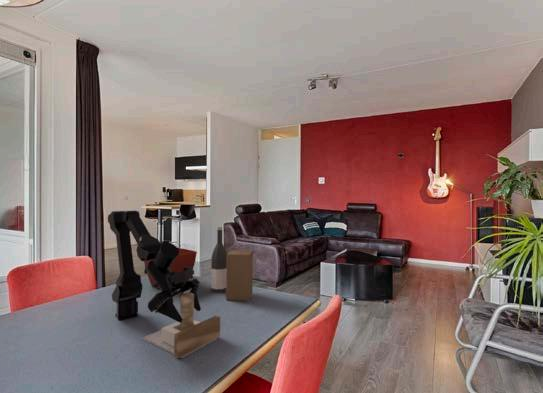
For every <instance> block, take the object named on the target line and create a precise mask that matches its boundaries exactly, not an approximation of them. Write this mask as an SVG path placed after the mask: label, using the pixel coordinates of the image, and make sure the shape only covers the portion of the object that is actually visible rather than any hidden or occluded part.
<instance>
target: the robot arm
mask: <svg viewBox="0 0 543 393" xmlns="http://www.w3.org/2000/svg"><path fill="white" fill-rule="evenodd" d="M107 222H108V224H109V227H110V228H109V229H110V230H111V232H112V233H113V234H115V239H116V240H115V241H116V250H117V257H118V265H119V266H118V267H119V276H118V277H117V279H116V282H115V288H114V290H113V292H112V293H111V300H112V301H113V302H114V303H116V312H115V316H116V317H115V318H117V320H118V321H122V320H127V319H130V318H136V317H138V313H139V302H138V301H137V300H138V299H139V298H142V297H141V296H142V293H143V283H142V279H141V278H142V276H141V275H140V274H138V273H137V272H136V271H135V266H134V257H133V250H132V249H133V248H132V240H131V235H132V237H133V238H134V240H135V242H136V245H137V246H136V250H135V251H136V253H137V257H138V259H139V260H140V261H141V262H144V261H149V260H152V261H150V262H149V264H147V265H145V264H144V270H143V272H144V273H143V274H144V275H146V274H147V273H149V274H150V275H151V277H152V278H153V280H154V281H155V283H156V284H155V285H154V286H153V287H154V288H155V289H159V288H160V289H159V290H160V292H157V293H156V294H155V295H154V296H153V297H152V298H151V299H150V300H149V301H148V303H147V309H148V310H149V311H150V312H151V313H155V314H161V315H162V316H165V317H168V318H170V319H172V320H174V321H176V322H182V321H183V320H182V318H181V316H180V311H178V309H177V308H176V306H175V304H174V298H175V297H177V296H181V294H184V293H193V294H194V310H196V311H198V312H200V311H201V310H202V308H201V304H200V302H199V301H200V300H199V298H198V289H199V286H200V284H201V283H200V281H199V280H198V278H196V277H194V275H195V270H194V268H193V269H192V268H191V267H190V266H188V267H186V268H183V271H182V272H180V273H177V272H176V271H173V272H172V271H171V270H170V269H169V267H170V266H171V265H172V263H173V262H174V260H175V259H176V258H177V256H178V255H179V249H178V248H179V247H178V246H176V245H175V244H174V243H170V241H169V240H163V241H161V242H160V240H159V239H158V238H156V237H154V236H152V235H151V233H150V232H149V230H148V228H147V227H146V224H144V222H143V219H142V218H141V216H140V212H139V211H138V210H114V211H111V212H110V214H108V215H107ZM188 279H189V280H188ZM187 280H188V281H187ZM185 281H187V282H186V283H185ZM184 283H185V284H184ZM183 284H184V285H183ZM182 285H183V286H182ZM158 287H159V288H158Z"/></svg>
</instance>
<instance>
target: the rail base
mask: <svg viewBox="0 0 543 393" xmlns="http://www.w3.org/2000/svg"><path fill="white" fill-rule="evenodd" d="M199 322H200V323H198V324H196V325H194V326H191V327H189V328H187V329H185V330H183V331H180V332H178V333H176V334H174V346H172V345H170V344H167V343H165V342H163V341H161V330H158V331H156V332H153V333H151V334H148V335H145V336H144V337H142V340H143V341H145V342H147V343H149V344H151V345H153V346H156V347H158V348H160V349H161V350H163V351H165V352H168V353H170V354H171V355H173V356H175V357H176V358H178V359H183V358H186V357H187V356H188V355H191V354H192V353H195V352H196V351H199V349H202V348H203V347H205V346H208V345H209V344H211V343H213V342H215V341H217V340H218V338H219V337H220V336H221V316H218V315H214V316H212V317H209V318H208V319H205V320H203V321H199Z"/></svg>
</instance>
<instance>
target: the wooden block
mask: <svg viewBox="0 0 543 393" xmlns="http://www.w3.org/2000/svg"><path fill="white" fill-rule="evenodd" d="M253 263H254V250H247V249H245V250H243V249H232V250H230V251H229V252H228V253H227V266H226V291H225V300H226V301H235V302H236V301H238V302H239V301H240V302H249V301H250V299H251V297H252V295H253V284H254V283H253V282H254V280H253V277H254V276H253V275H254V274H253V272H254V268H253V267H254V264H253Z"/></svg>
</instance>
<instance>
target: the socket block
mask: <svg viewBox="0 0 543 393" xmlns="http://www.w3.org/2000/svg"><path fill="white" fill-rule="evenodd" d="M200 322H201V321H198V320H195V319H194V325H196V324H198V323H200ZM178 332H180V322H178V321H176V322H174V323H171V324H169V325H166V326H164V327H161V341H163V342H165V343H167V344H170V345H172V346H174V334H176V333H178Z"/></svg>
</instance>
